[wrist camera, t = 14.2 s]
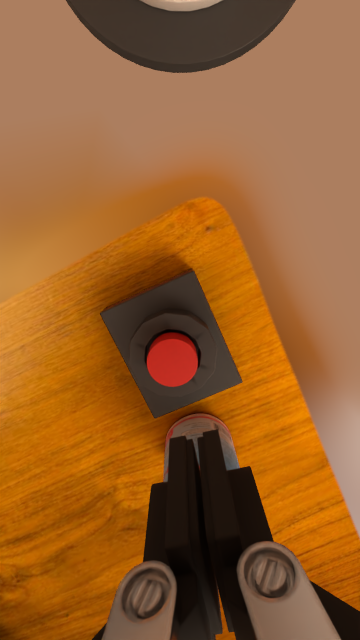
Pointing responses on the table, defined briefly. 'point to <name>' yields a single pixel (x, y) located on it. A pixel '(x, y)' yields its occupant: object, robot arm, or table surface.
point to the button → (172, 359)
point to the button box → (163, 317)
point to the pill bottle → (195, 428)
